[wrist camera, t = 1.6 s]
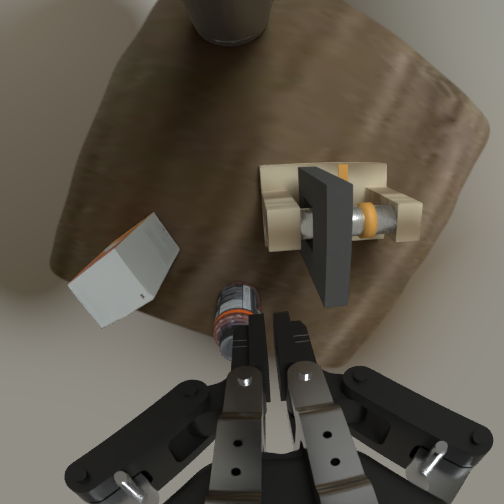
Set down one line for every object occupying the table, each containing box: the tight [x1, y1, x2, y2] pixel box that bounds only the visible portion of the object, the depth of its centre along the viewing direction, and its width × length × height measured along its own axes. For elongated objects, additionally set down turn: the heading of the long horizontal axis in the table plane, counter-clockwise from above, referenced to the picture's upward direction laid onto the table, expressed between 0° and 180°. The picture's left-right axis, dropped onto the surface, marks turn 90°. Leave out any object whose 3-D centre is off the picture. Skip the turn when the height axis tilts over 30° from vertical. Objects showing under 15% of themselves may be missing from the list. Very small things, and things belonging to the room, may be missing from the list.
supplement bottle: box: [213, 282, 262, 361], centre depth 37 cm, size 6×6×11 cm
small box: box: [68, 212, 180, 328], centre depth 33 cm, size 8×6×13 cm
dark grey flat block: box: [298, 166, 353, 308], centre depth 28 cm, size 10×2×12 cm, turn 4°
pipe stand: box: [259, 162, 423, 252], centre depth 32 cm, size 10×16×11 cm, turn 94°
